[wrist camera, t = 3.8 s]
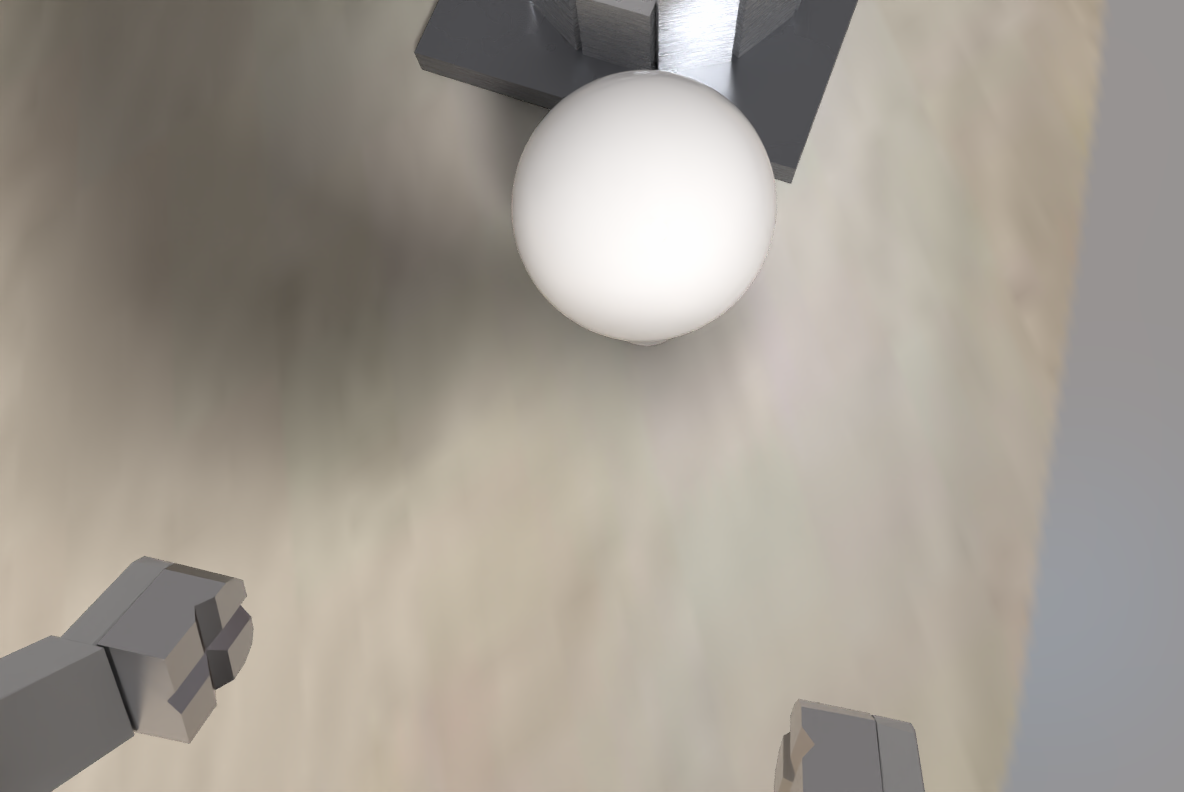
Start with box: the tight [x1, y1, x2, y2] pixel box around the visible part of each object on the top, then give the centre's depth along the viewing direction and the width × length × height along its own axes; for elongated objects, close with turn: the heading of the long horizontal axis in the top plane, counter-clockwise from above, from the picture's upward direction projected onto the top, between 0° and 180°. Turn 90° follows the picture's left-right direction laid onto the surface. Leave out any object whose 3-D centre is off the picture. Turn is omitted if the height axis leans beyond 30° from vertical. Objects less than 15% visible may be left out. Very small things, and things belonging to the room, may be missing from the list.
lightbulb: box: [511, 70, 777, 346], centre depth 22 cm, size 6×6×11 cm
